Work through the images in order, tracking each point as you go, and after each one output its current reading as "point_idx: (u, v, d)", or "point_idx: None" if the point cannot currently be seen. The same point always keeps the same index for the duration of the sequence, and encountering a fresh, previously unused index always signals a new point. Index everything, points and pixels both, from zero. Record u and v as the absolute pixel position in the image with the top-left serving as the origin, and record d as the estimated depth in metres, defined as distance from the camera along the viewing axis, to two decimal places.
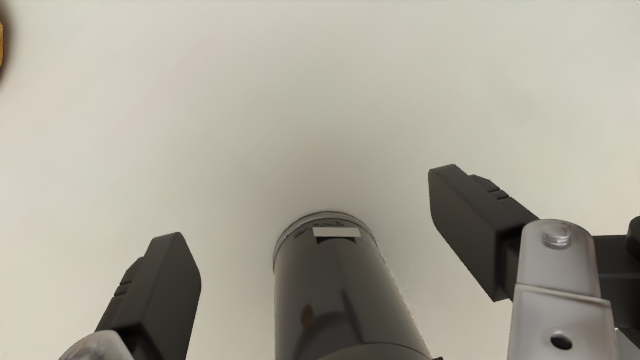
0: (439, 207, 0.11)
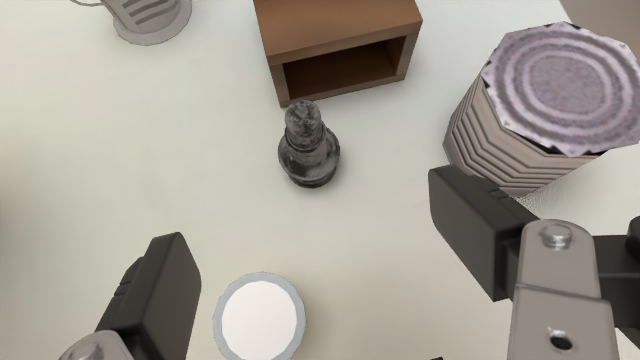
0: (439, 207, 0.11)
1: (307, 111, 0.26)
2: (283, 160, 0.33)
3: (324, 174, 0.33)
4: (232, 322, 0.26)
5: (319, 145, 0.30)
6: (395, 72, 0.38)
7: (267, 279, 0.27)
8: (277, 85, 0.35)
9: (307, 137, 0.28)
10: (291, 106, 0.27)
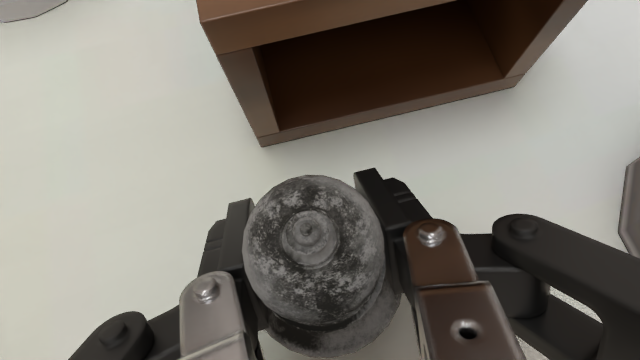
0: None
1: (333, 240, 0.06)
2: None
3: (366, 341, 0.12)
4: None
5: (365, 307, 0.09)
6: (507, 72, 0.18)
7: None
8: (247, 104, 0.15)
9: None
10: (267, 208, 0.07)
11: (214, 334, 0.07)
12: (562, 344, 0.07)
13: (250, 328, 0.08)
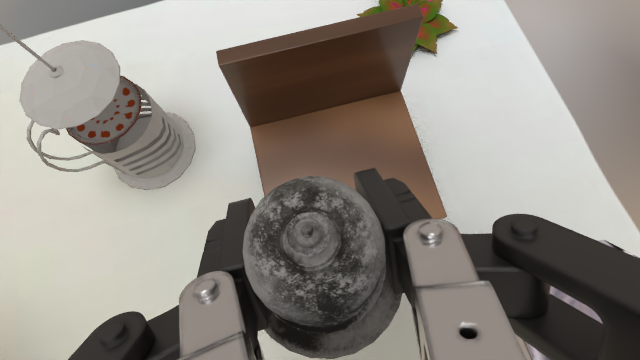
0: None
1: (334, 242, 0.06)
2: None
3: (366, 342, 0.12)
4: None
5: (365, 308, 0.09)
6: None
7: None
8: None
9: None
10: (267, 209, 0.07)
11: (214, 334, 0.07)
12: (562, 344, 0.07)
13: (249, 328, 0.08)
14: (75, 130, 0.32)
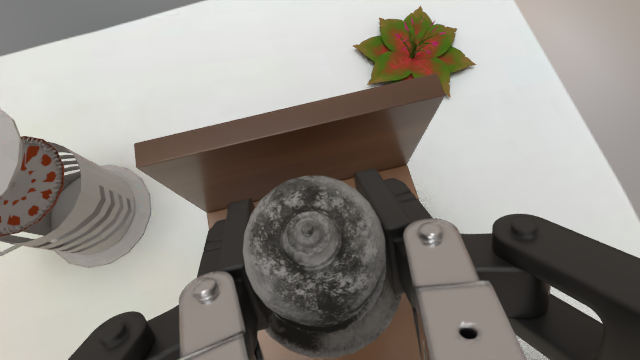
0: None
1: (334, 241, 0.06)
2: None
3: (366, 342, 0.12)
4: None
5: (365, 307, 0.09)
6: None
7: None
8: None
9: (332, 319, 0.07)
10: (268, 208, 0.07)
11: (214, 334, 0.07)
12: (562, 344, 0.07)
13: (249, 328, 0.08)
14: None
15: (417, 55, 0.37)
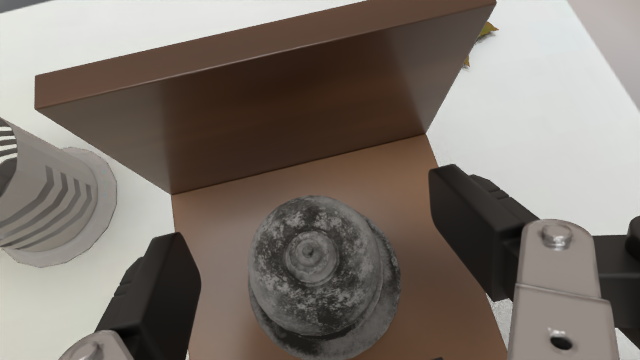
0: (439, 207, 0.11)
1: (333, 260, 0.06)
2: (260, 306, 0.13)
3: (365, 347, 0.13)
4: None
5: (363, 316, 0.10)
6: None
7: None
8: None
9: None
10: (271, 227, 0.07)
11: None
12: None
13: None
14: None
15: None
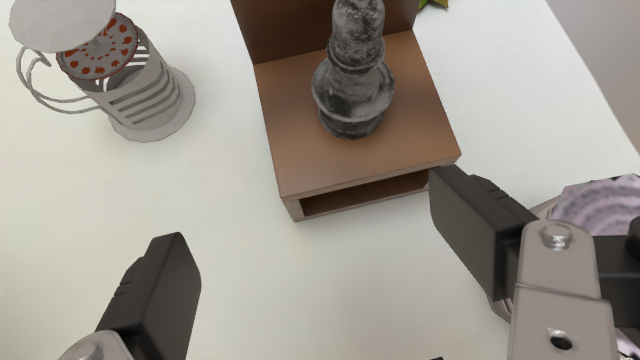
0: (439, 207, 0.11)
1: None
2: (318, 96, 0.25)
3: (375, 114, 0.24)
4: None
5: (376, 63, 0.21)
6: (423, 186, 0.34)
7: None
8: (291, 211, 0.31)
9: (364, 44, 0.19)
10: None
11: None
12: None
13: None
14: (68, 66, 0.31)
15: None
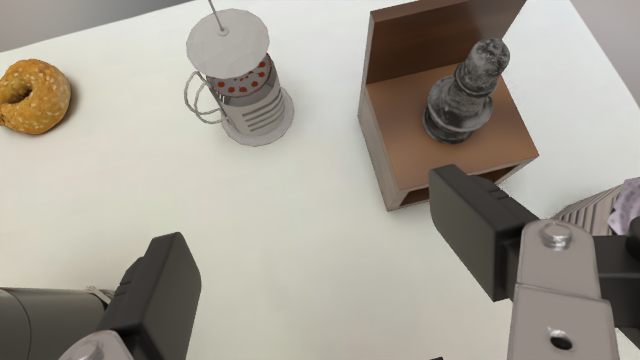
0: (439, 207, 0.11)
1: (501, 47, 0.26)
2: (435, 112, 0.32)
3: (480, 125, 0.32)
4: None
5: (493, 89, 0.29)
6: (495, 181, 0.42)
7: None
8: (395, 201, 0.39)
9: (493, 78, 0.27)
10: (480, 44, 0.26)
11: None
12: None
13: None
14: (216, 86, 0.38)
15: None
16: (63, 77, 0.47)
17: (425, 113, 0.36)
